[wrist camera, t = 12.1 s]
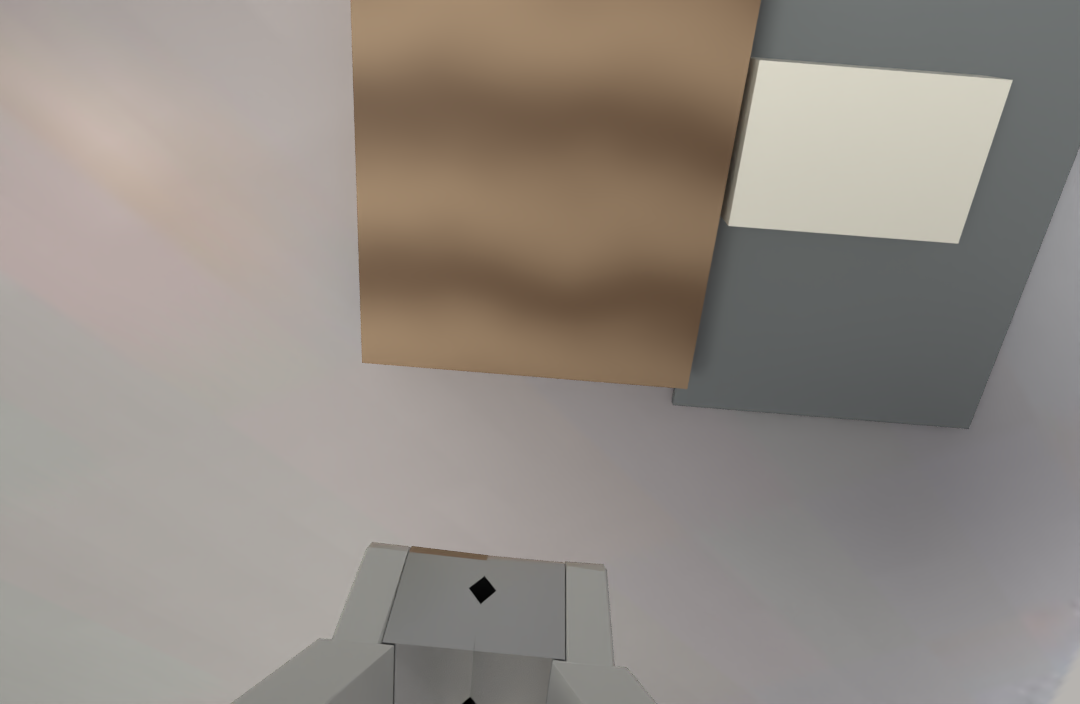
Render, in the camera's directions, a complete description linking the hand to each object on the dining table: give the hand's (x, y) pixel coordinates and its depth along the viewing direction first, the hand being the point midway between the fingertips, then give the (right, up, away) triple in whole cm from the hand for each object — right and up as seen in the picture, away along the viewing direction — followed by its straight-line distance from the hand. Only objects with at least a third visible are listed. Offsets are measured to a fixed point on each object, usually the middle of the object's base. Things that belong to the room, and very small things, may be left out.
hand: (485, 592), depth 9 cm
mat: (+15, +11, +20) cm, 27 cm away
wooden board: (+1, +12, +20) cm, 23 cm away
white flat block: (+13, +11, +19) cm, 26 cm away
